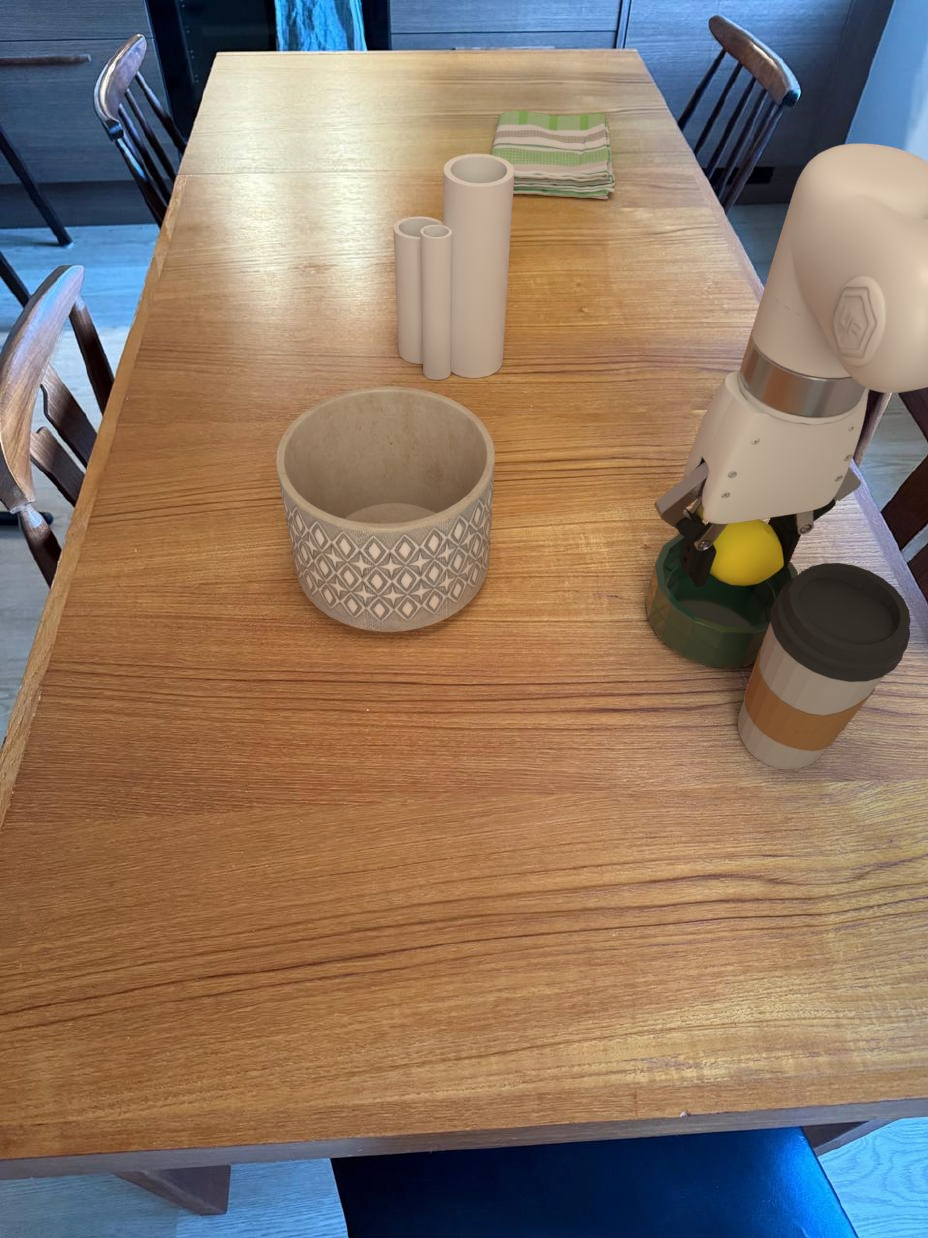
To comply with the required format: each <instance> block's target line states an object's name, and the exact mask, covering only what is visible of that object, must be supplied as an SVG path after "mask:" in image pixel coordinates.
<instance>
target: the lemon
mask: <svg viewBox="0 0 928 1238" xmlns="http://www.w3.org/2000/svg"><path fill="white" fill-rule="evenodd" d="M705 525H707V523H706V524H705ZM713 545H714V547H715V548H716V556H715V559H714V562H713V564H712V567H711V570H710V573H711V574H712V575H713V576H714V577H716V578H717V579H718V580H720V581H723V582H725V583H728V584H730V585H740V586H747V585H753V584H758V583H760V582H762V581H764V580H766V579H768V578H770V577H771V576H772V575H774V574H775V573H776V572H778V571H779V570H780V569H781V568H782V567H783V561H784V560H783V553H782V547H781V544H780V541H779V538H778V536H777V534H776V533H775V531H774V530H773V528H772V527H771V526H770V525H769V524H768V522H766V521H763V519H758V520H752V521H745V522H737V523H729V524H728V525H727V526H726V528H725V529H724V530H723V532H722V533H721V534H720V535H719V537H718V538H717V539H716V540H715V542H714V543H713Z"/></svg>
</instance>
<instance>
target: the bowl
mask: <svg viewBox="0 0 928 1238" xmlns="http://www.w3.org/2000/svg"><path fill="white" fill-rule="evenodd" d="M684 541H685V537H684V536H683V535H681V534H680V533H679V532H678V534H676V535H675V536H674V537H672V539H670V540H669V541H667V542H665V544H663V545H662V548H661V550H660V552H659V553H658V556H657V558H656V560H655V563H654V567H653V570H652V574H651V578H650V582H649V586H648V589H647V593H646V597H645V604H646V605H645V606H646V614H647V620H648V622H649V624H650V625H651V627H652V628H653V630H654V631H655V633H656V634H657V636H658V637H659V639H660V641H662V642H663V643H664V644H665V645H667V646H669V647H670V648H671V649H672V650H674V651H675V652H676V653H678V654H679V655H681V656H682V657H683V658H685V659H688V660H691V661H694V662H697V663H700V664H702V665H705V666H708V667H711V668H732V669H733V668H735V669H736V668H737V669H739V668H743V667H747V666H749V665H752V664H755V662H756V659H757V656H758V653H759V650H760V647H761V645H762V642H763V639H764V636H765V635H766V634H767V631H768V628H769V625H770V622H771V609H772V606H773V604H774V601H775V599H776V598H777V597H778V596H779V595H780V592H781V590H782V589H783V587H784V586H785V585H786V584H787V583H788V582H789V581H790V580H791V579H793V578H795V577H797V576H798V575H799V573H798V570H797V568H796V567H795V565H793V563H792V562H791V561H790V562H789V564H788V567H787V569H786V571H785V572H784V573H775V574H774V575H772V576H771V577H770V578H768V579H766V580H764V581H762V582H760V583H758V584H753V585H747V586H740V585H730V584H728V583H725V582H723V581H720V580H718V579H717V578H716V577H714V576H713V575H712V574H711V573H709V576H708V579H707V582H706V584H704V586H700V587H696V586H695V584H694V583H693V581H692V579H691V577H690V575H689V573H688V572H687V573H686V572H684V570H683V568H682V566H681V563H680V554H681V551H682V548H683V544H684Z"/></svg>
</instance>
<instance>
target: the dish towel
mask: <svg viewBox="0 0 928 1238" xmlns="http://www.w3.org/2000/svg"><path fill="white" fill-rule="evenodd" d="M606 115H607V114H606V112H592V113H587V114H567V115H566V114H565V115H550V114H547V113H543V112H536V111H532V110H514V111H506V112H503V113H501V114H499V116H498V118H497V119H498V120H497V123H496V129H495V133H494V136H493V139H492V149H491V153H490V155H493V156H497V157H500V158H502V159H505V160H507V161H508V162H509V163H510V164H511V165H512V166H513V168H514V187H513V195H529V196H530V195H538V196H545V197H546V196H548V197H549V196H550V197H563V198H564V197H565V198H567V197H568V198H569V197H572V198H578V199H587V198H590V199H591V198H592V199H599V200H608V199H609V196H610V193H615V186H616V185H617V182H616V177H615V173H614V164H613V151H612V148H611V147H612V146H611V136H610V123H609V121H607V118H606V117H607V116H606Z"/></svg>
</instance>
